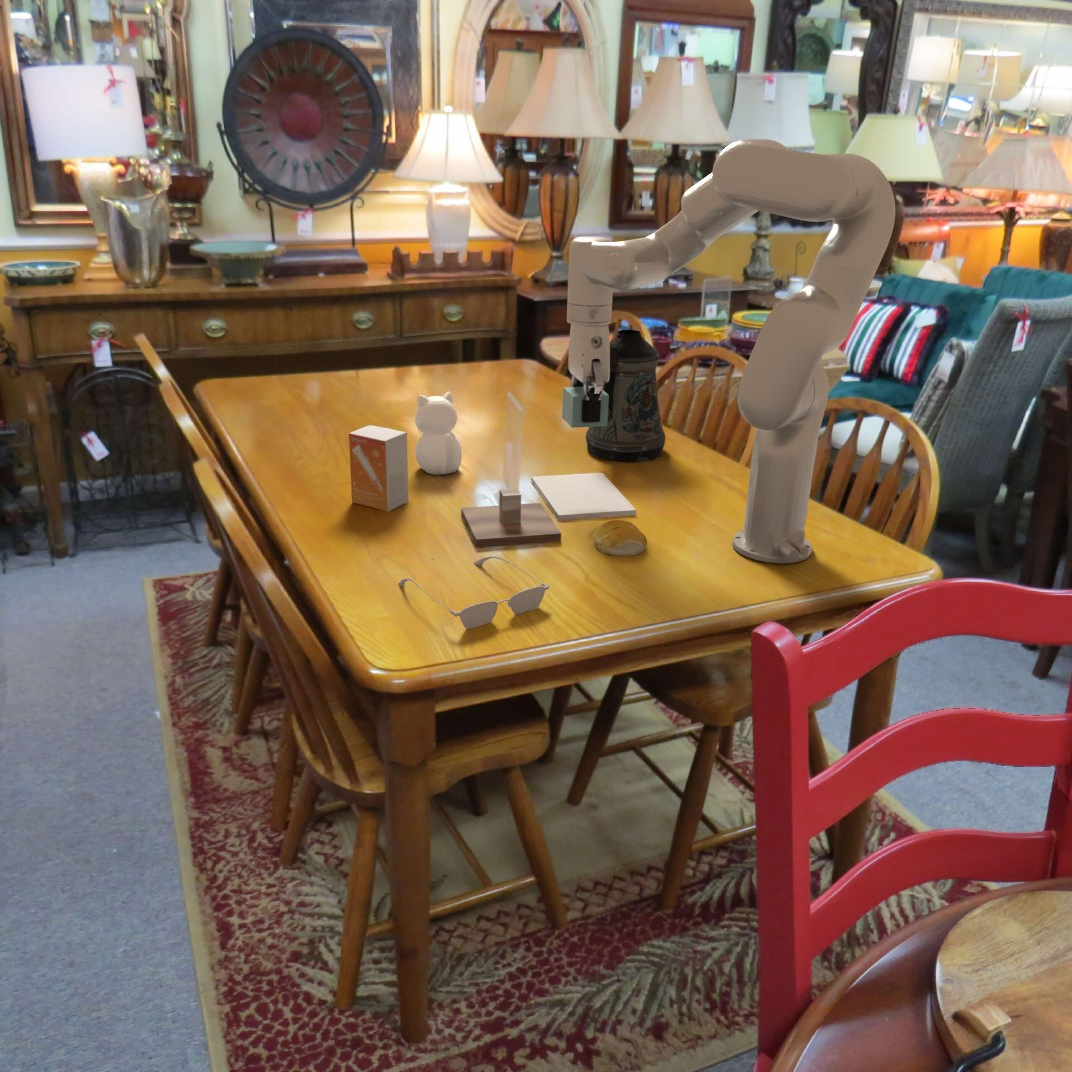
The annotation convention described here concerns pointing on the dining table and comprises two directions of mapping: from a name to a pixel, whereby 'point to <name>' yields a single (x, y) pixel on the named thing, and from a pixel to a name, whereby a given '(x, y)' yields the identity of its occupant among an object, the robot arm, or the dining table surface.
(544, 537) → the post stand
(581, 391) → the cube
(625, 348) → the beer stein
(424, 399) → the cat figurine
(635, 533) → the bread roll
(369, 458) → the small box
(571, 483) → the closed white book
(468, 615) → the eyeglasses
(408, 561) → the dining table surface
